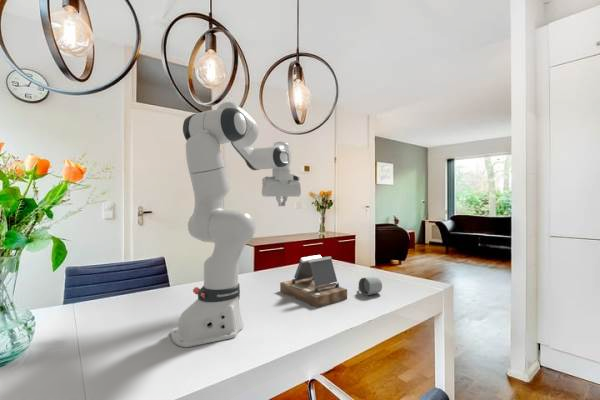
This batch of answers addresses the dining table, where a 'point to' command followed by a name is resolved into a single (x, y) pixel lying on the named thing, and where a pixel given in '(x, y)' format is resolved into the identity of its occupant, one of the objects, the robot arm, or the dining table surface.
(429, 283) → the dining table surface
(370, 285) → the ceramic mug
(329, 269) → the lever slate
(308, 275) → the grey board
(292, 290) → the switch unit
